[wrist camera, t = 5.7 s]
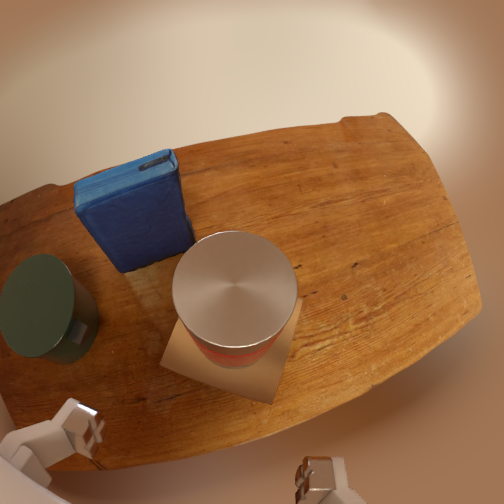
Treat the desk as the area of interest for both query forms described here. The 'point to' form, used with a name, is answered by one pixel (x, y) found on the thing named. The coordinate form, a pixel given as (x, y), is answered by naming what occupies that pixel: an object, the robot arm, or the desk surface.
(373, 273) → the desk surface
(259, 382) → the block
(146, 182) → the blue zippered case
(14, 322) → the pot
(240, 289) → the can
